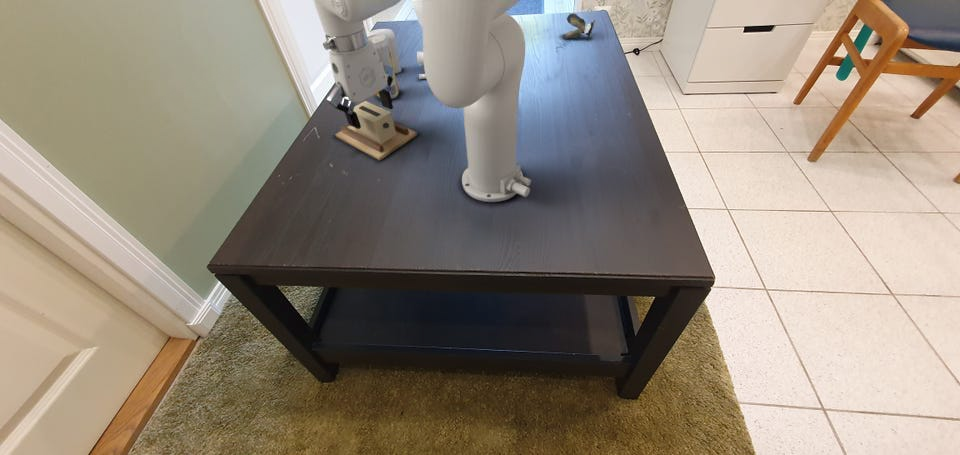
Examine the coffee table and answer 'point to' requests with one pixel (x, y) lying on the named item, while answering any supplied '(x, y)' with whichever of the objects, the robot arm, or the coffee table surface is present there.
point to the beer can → (385, 59)
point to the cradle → (373, 147)
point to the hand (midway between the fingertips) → (372, 116)
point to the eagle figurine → (578, 26)
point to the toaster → (375, 122)
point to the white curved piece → (392, 45)
